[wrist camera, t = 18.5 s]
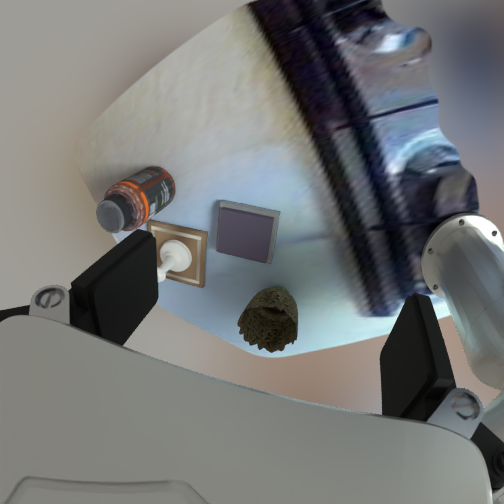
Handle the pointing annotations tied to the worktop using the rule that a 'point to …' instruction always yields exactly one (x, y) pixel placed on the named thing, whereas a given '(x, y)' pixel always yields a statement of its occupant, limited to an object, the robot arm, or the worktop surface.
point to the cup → (270, 319)
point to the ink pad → (247, 231)
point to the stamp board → (195, 244)
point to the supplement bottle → (135, 200)
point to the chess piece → (173, 258)
